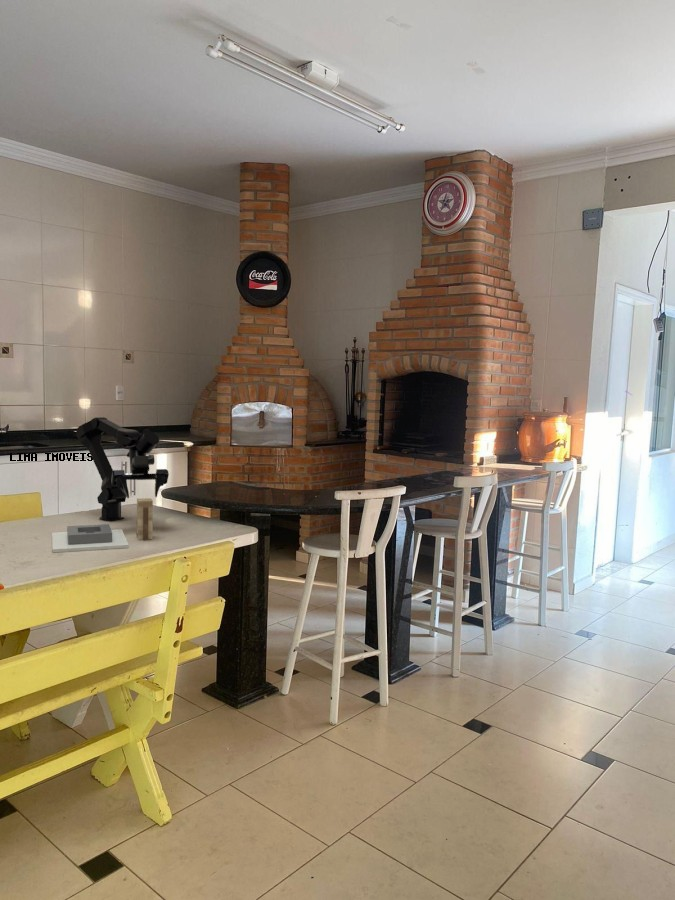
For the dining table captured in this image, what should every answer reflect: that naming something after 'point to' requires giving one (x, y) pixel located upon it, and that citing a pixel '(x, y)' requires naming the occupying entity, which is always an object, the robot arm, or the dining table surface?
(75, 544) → the socket block
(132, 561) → the dining table surface
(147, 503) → the keyed peg
